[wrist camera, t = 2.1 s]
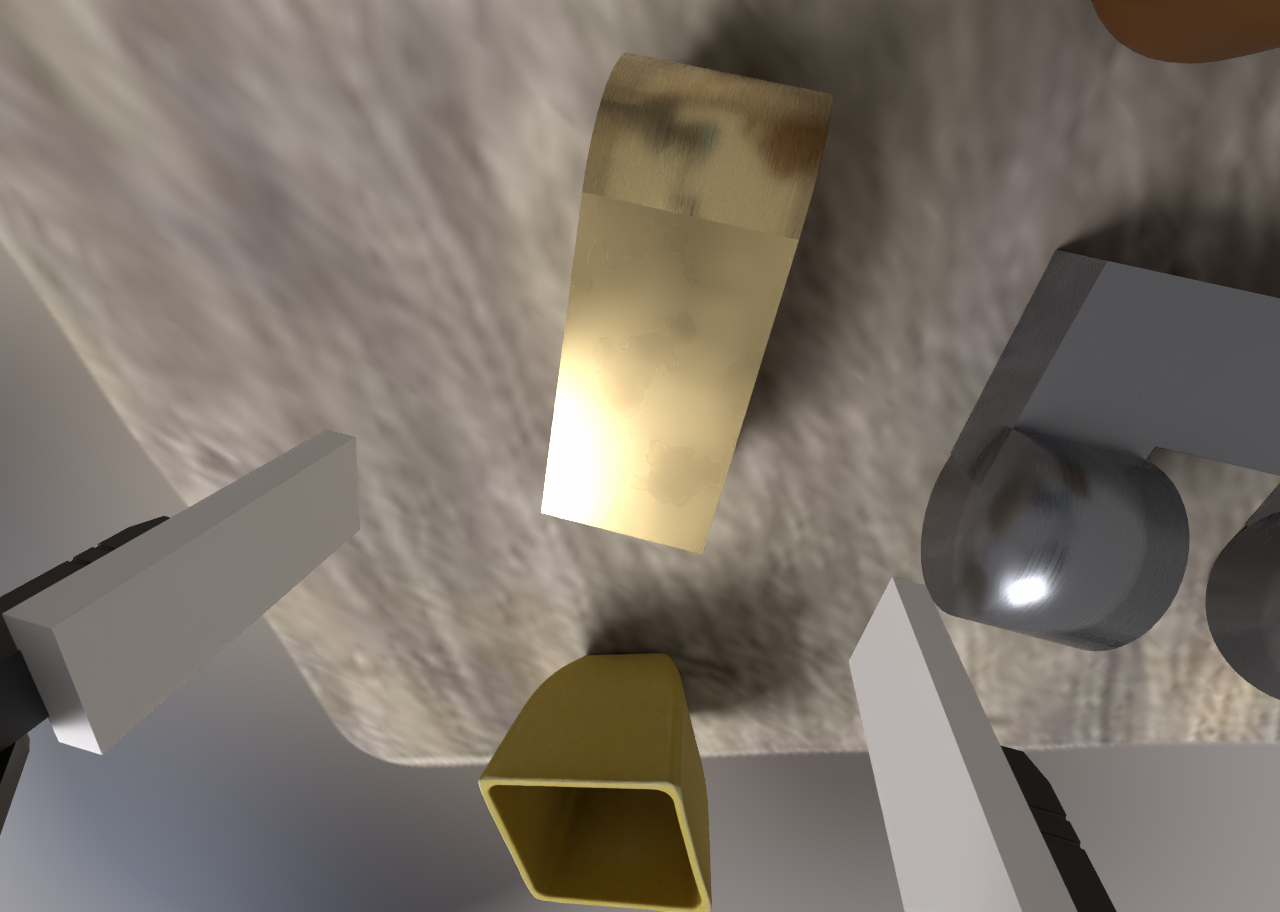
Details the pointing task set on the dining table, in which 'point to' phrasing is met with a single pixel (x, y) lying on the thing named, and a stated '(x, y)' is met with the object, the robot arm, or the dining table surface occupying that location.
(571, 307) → the brass curved block
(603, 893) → the flower pot
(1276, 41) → the mug
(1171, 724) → the dining table surface
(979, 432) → the hinge base leaf
